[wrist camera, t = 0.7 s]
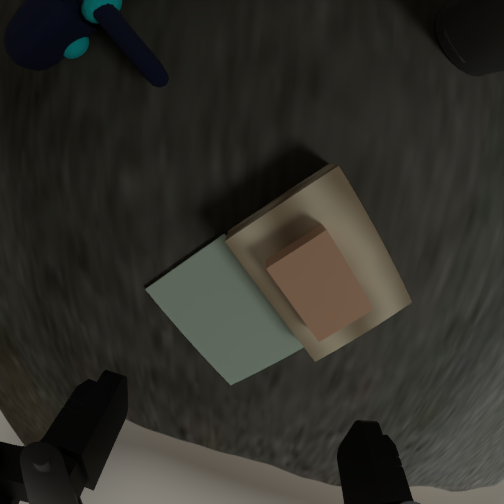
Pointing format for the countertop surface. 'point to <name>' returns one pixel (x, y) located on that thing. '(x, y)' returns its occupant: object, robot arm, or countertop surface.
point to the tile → (319, 283)
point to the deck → (346, 239)
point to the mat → (224, 313)
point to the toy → (74, 35)
